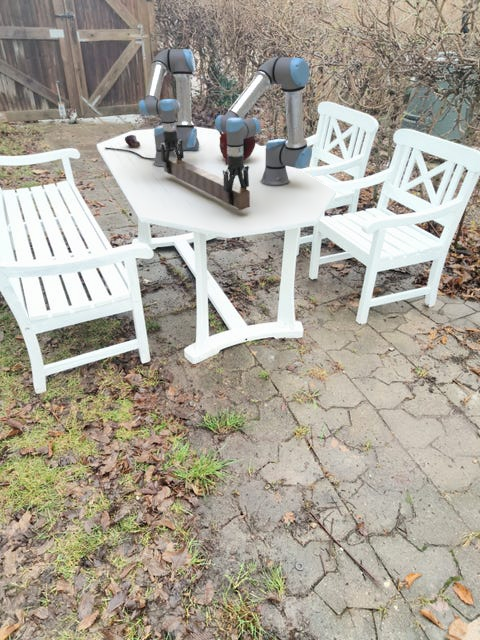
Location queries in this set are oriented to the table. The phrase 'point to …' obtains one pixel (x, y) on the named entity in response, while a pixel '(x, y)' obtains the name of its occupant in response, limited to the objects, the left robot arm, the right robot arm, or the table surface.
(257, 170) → the table surface
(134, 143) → the rock
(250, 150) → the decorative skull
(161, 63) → the left robot arm
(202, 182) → the bar
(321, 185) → the table surface
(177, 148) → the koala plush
